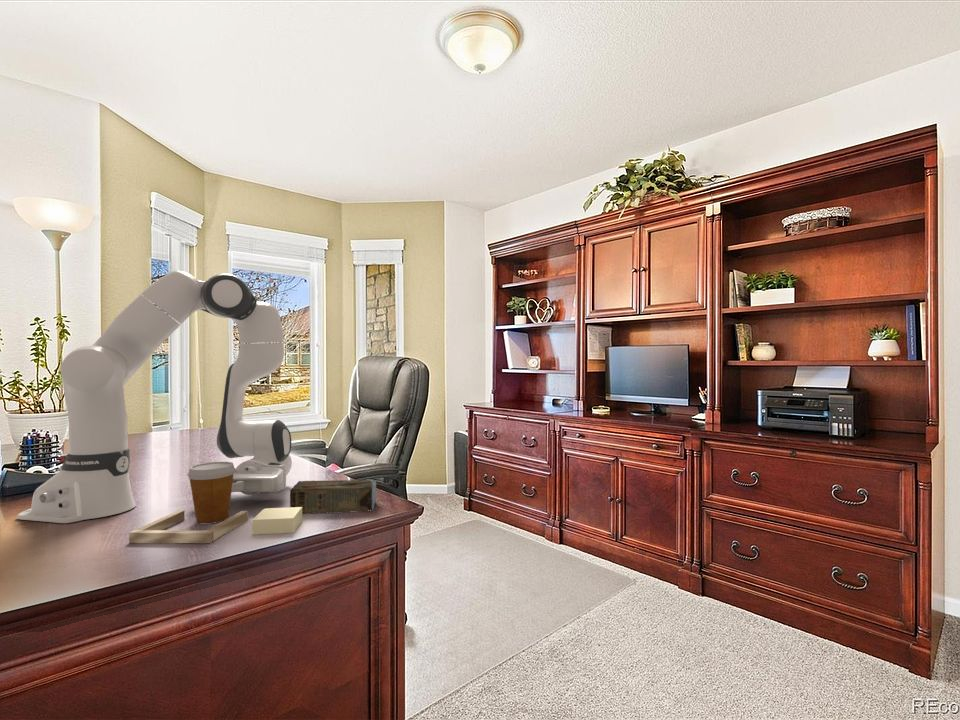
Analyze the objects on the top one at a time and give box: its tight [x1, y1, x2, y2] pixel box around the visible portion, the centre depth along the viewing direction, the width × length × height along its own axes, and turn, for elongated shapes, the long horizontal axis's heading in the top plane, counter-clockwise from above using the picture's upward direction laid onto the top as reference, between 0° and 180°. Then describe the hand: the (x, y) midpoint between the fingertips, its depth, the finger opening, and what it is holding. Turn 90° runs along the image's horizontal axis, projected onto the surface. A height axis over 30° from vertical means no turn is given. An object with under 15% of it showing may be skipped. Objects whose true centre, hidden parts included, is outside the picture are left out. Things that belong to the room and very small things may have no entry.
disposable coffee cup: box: [186, 461, 237, 524], centre depth 111 cm, size 10×10×12 cm
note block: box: [251, 506, 303, 536], centre depth 106 cm, size 8×8×3 cm
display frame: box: [128, 510, 249, 544], centre depth 104 cm, size 16×14×2 cm
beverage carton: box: [289, 479, 377, 515], centre depth 119 cm, size 8×19×7 cm, turn 96°
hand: (223, 489), depth 115 cm, fingers closed, pressing on disposable coffee cup
